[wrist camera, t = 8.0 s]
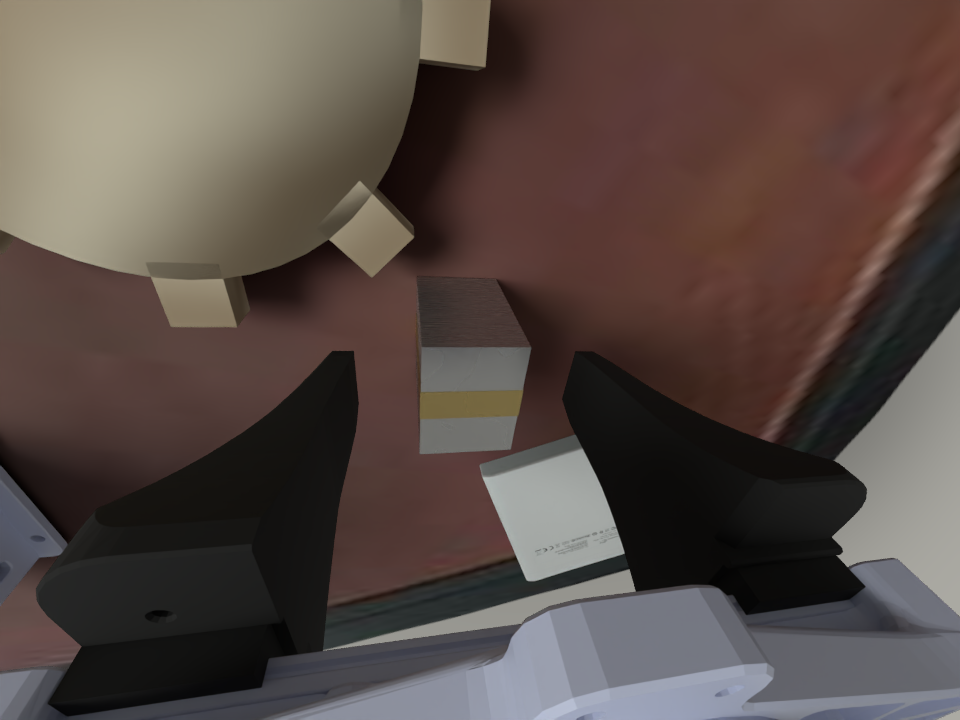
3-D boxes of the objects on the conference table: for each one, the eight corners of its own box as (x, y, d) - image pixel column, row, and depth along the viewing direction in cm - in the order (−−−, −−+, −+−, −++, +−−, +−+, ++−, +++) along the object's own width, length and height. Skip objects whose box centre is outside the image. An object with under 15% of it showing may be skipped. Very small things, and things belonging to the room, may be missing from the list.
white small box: (485, 364, 17) (511, 449, 13) (415, 365, 16) (419, 454, 12) (496, 278, 15) (532, 347, 10) (416, 276, 14) (420, 347, 10)
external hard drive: (620, 411, 21) (628, 530, 28) (477, 456, 21) (521, 562, 28) (635, 432, 19) (639, 551, 26) (482, 480, 20) (527, 585, 27)
